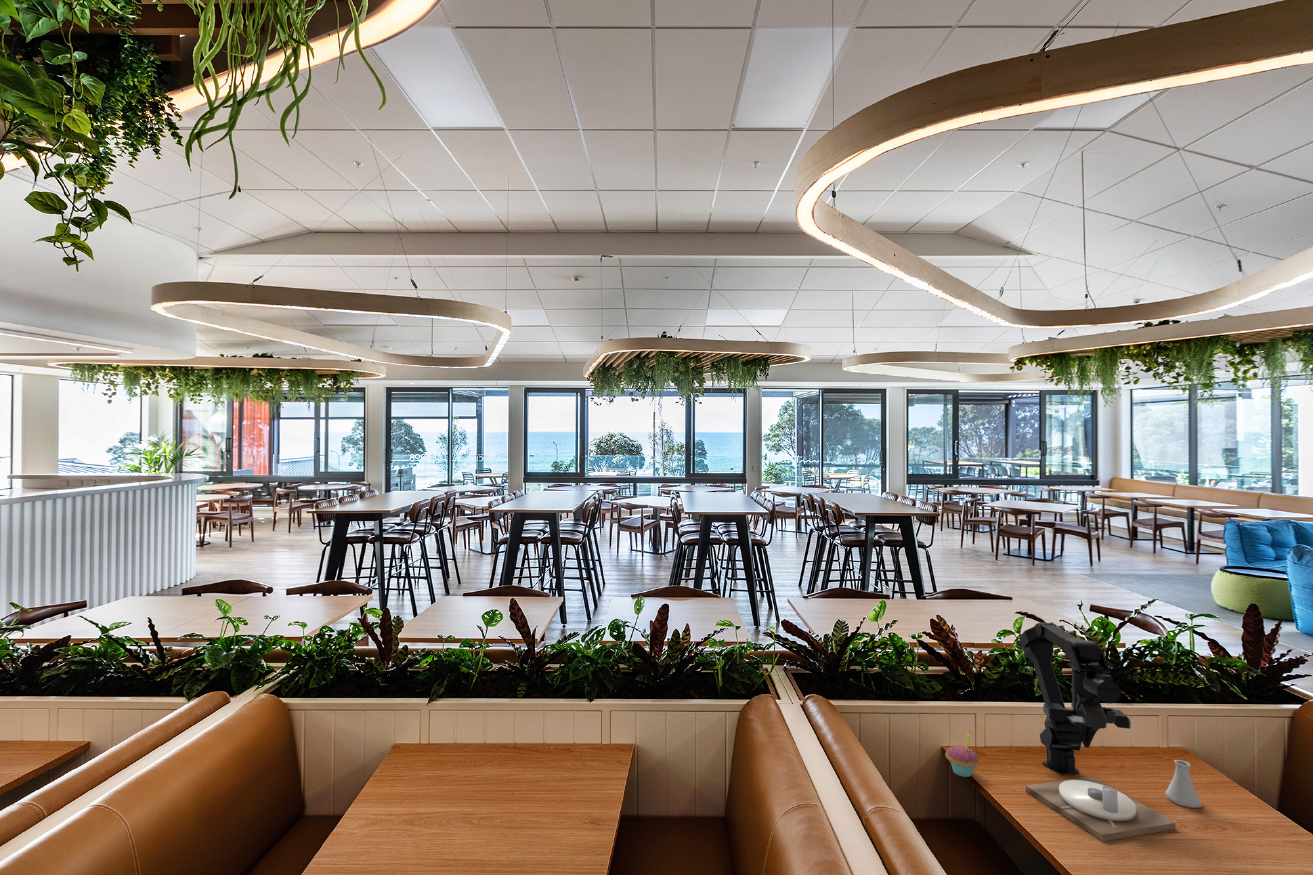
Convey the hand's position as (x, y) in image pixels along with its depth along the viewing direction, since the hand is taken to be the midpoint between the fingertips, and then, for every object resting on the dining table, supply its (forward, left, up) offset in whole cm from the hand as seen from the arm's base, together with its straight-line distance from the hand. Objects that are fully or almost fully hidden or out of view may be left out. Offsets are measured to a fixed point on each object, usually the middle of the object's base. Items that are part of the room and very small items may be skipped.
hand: (1086, 746), depth 163 cm
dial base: (+7, -5, -12) cm, 15 cm away
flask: (+9, +21, -12) cm, 26 cm away
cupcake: (-16, -26, -12) cm, 33 cm away
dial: (+7, -5, -10) cm, 13 cm away
